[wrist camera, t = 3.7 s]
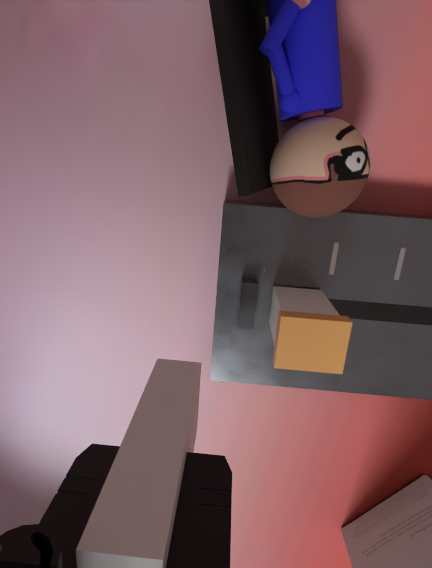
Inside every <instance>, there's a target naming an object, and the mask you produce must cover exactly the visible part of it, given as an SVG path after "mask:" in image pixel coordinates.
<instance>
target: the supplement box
mask: <svg viewBox="0 0 432 568" xmlns="http://www.w3.org/2000/svg"><path fill="white" fill-rule="evenodd" d="M341 531H342V535H343V538H344V541H345V545H346V548H347V551H348V554H349V558H350V561H351V565H352V568H432V480H431V479H430V478H429V477H428V476H427V475H423V476H422V477H420V478H419V479H417V480H416V481H414V482H413V483H411V484H409V485H408V486H406V487H405V488H403V489H402V490H400V491H399V492H397V493H396V494H394V495H393V496H391V497H389V498H388V499H386V500H385V501H383V502H382V503H380V504H379V505H377V506H376V507H374V508H372V509H371V510H369V511H368V512H366V513H365V514H363V515H362V516H360V517H359V518H357V519H356V520H354V521H353V522H351V523H350V524H348V525H346V526H345V527H343V528H342V529H341Z"/></svg>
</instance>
